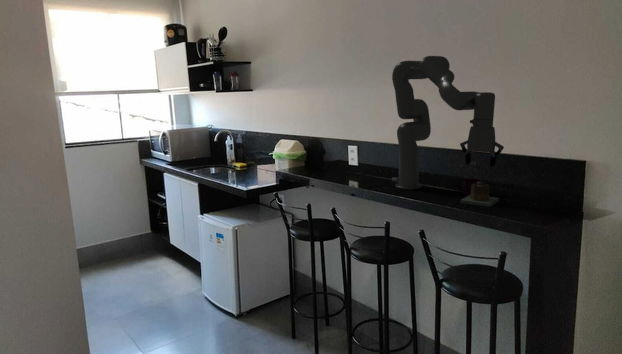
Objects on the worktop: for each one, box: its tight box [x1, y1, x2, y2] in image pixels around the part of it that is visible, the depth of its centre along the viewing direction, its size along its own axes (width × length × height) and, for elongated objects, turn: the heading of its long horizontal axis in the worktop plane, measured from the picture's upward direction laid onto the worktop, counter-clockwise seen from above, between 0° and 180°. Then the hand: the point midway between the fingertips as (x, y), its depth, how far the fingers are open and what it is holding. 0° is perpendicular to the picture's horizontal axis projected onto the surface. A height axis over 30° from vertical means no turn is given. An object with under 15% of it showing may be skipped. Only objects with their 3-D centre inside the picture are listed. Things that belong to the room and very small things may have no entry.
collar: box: [471, 183, 491, 201], centre depth 183 cm, size 7×7×6 cm
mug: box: [458, 178, 481, 197], centre depth 197 cm, size 7×10×7 cm
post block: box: [459, 181, 500, 208], centre depth 183 cm, size 12×12×8 cm
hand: (479, 164), depth 181 cm, fingers open, 9 cm apart
